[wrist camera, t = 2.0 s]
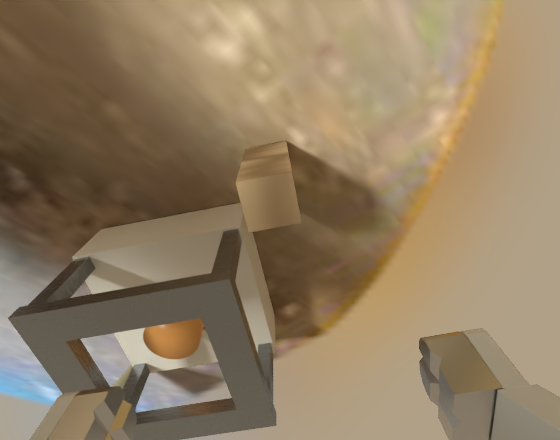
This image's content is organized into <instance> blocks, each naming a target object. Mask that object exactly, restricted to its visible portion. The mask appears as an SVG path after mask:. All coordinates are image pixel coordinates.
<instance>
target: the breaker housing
mask: <svg viewBox="0 0 560 440" xmlns="http://www.w3.org/2000/svg"><path fill="white" fill-rule="evenodd" d="M234 229H238V230H239V233H240V237H241V240H242V244H241V250H240V256H239V262H238V268H237V274H236V279H235V282H236V286H237V289H238V292H239V295H240V298H241V302H242V305H243V308H244V311H245V315H246V318H247V321H248V324H249V327H250V331H251V334H252V337H253V340H254V343H255V347H256V350H257V353H258V345H259V344H266V343H271V347H272V350H273V353H275V315H274V311H273V307H272V304H271V300H270V296H269V292H268V288H267V284H266V281H265V277H264V273H263V269H262V265H261V261H260V258H259V254H258V250H257V246H256V242H255V238H254V235H253V232H250V233H249V232H248V228H247V224H246V221H245V217H244V213H243V209H242V206H241V203H236V204H231V205H225V206H220V207H215V208H210V209H204V210H199V211H194V212H189V213H184V214H178V215H173V216H168V217H163V218H157V219H152V220H147V221H142V222H136V223H131V224H126V225H121V226H115V227H110V228H105V229H101V230H100V231H99V232H98V233H97V234H96V235H95V236H94V237H93V238H91V239H90V240H89V241H88V242H87V243H86V244H85V245H84V246H83V247H82V248H81V249H80V250H79V251H78V252H77V253H76V254H75V255H74V256H73V257H72V259H73V260H75V259H78V258H83V257H88V256H89V257H90V259H91V261H92V263H93V265H94V266H95V268H96V269H95V270H94V271H93V272H92V273H91V274H90V276H89V277H88V278H87V279H86V280H85V282H86V284H87V286H88V287H89V289H90V291H91V293H92V294H96V293H102V292H108V291H113V290H119V289H124V288H130V287H136V286H141V285H147V284H153V283H158V282H164V281H169V280H175V279H181V278H186V277H192V276H197V275H203V274H209V273H211V272H212V269H213V265H214V262H215V258H216V255H217V252H218V248H219V245H220V241H221V238H222V235H223V231H228V230H234ZM144 330H145V328H140V329H135V330H129V331H123V332H117V333H114V334H115V336H116V338H117V339H118V341H119V343H120V345H121V347H122V348H123V350H124V352H125V354H126V356H127V357H128V359H129V361H130V363H131V365H132V366H134V365H136V364H142V363H146V365H147V367H148V368H149V370H150V373H153V372H159V371H165V370H171V369H178V368H184V367H190V366H196V365H203V364H209V363H215V362H218V360H217V358H216V355H215V353H214V350H213V348H212V345H211V343H210V340H209V337H208V335H207V332H206V330H205V327H204V328H203V332H202V336H201V340H200V344H199V347H198V349H197V350H196V351H195V352H194V353H193V354H192V355H190V356H188V357H186V358H182V359H167V358H163V357H160V356H158V355H156V354H154V353H153V352H151V351H150V350H149V349H148V348H147V346H146V345H145V343H144V340H143V333H144Z"/></svg>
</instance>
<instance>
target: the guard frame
mask: <svg viewBox="0 0 560 440" xmlns="http://www.w3.org/2000/svg"><path fill="white" fill-rule="evenodd" d="M241 244H242V240H241V237H240V233H239V230H238V229H234V230H228V231H223V235H222V238H221V241H220V245H219V248H218V252H217V255H216V258H215V262H214V265H213V269H212V272H211V273H209V274H203V275H197V276H192V277H186V278H181V279H175V280H169V281H164V282H158V283H153V284H147V285H141V286H136V287H130V288H124V289H119V290H113V291H108V292H102V293H96V294H91V295H85V296H79V297H74V298H70V297H71V296H72V295H73V294H74V293H75V292H76V290H77V289H78V288H79V287H80V286H81V285H82V284H83V282H84V281H85V280H86V279H87V278H88V277H89V276H90V274H91V273H92V272H93V271H94V270H95V269H96V268H95V266H94V265H93V263H92V261H91V259H90V257H89V256H88V257H83V258H78V259H75V260H74V261H73V262H72V263H71V264H70V265H68V266H67V267H66V268H65V269H64V270H63V271H62V272H61V273H60V274H59V275H58V276H57V277H56V278H55V279H54V280H53V281H52V282H51V283H50V284H49V285H48V286H47V287H46V288H45V289H44V290H43V291H42V292H41V293H40V294H39V295H38V296H37V297H36V298H35V299H34V300H33V301H32V302H31V303H30V304H29V305H28V306H23V307H19V308H18V309H17V310H16V311H15V312H14V313H13V314H12V315H11V316H10V317H9V318H8V319H9V320H10V322H11V323H12V324H13V326H14V327H15V329H16V330H17V331H18V333H19V334H20V335H21V337H22V338H23V340H24V341H25V342H26V344H27V345H28V346H29V348H30V349H31V351H32V352H33V353H34V355H35V356H36V357H37V359H38V360H39V362H40V363H41V364H42V366H43V367H44V368H45V370H46V371H47V373H48V374H49V375H50V377H51V378H52V379H53V381H54V382H55V383H56V385H57V386H58V388H59V389H60V390H61V392H62V393H63V394H64V393H69V392H76V391H82V390H90V389H98V388H106V387H110V386H109V385H108V383H107V381H106V380H105V378H104V377H103V375H102V373H101V372H100V370H99V369H98V367H97V365H96V364H95V362H94V361H93V359H92V357H91V356H90V354H89V353H88V351H87V349H86V348H85V346H84V345H83V343H82V341H81V340H80V339H81V338H87V337H93V336H99V335H105V334H111V333H117V332H123V331H129V330H135V329H140V328H146V327H152V326H158V325H164V324H170V323H176V322H182V321H188V320H194V319H199V318H201V320H202V322H203V325H204V327H205V330H206V332H207V335H208V337H209V340H210V343H211V345H212V348H213V350H214V353H215V355H216V358H217V360H218V363H219V366H220V368H221V371H222V373H223V376H224V378H225V381H226V383H227V386H228V389H229V391H230V394H231V396H232V398H230V399H223V400H217V401H210V402H203V403H197V404H190V405H184V406H177V407H171V408H164V409H158V410H151V411H145V412H138V413H136V416H137V424H136V432H135V434H134V437H133V440H179V439H187V438H194V437H200V436H208V435H215V434H222V433H228V432H235V431H242V430H249V429H255V428H263V427H269V426H276V411H275V408H274V404H273V350H272V347H271V343H266V344H259V345H258V353H257V350H256V347H255V343H254V340H253V337H252V334H251V331H250V327H249V324H248V321H247V318H246V315H245V311H244V308H243V305H242V302H241V298H240V295H239V292H238V289H237V286H236V282H235V279H236V274H237V268H238V262H239V256H240V250H241ZM149 373H150V370H149V368H148V367H147V365H146V363H142V364H136V365H134V366H133V368H132V370H131V372H130V374H129V376H128V379H127V381H126V383H125V385H124V387H123V389H122V390H123V391H124V393H125V396H124V399H123V400H124V401H126V402H128V403H130V404H132V406H133V407H134V409H135V408H136V405H137V403H138V400H139V398H140V395H141V393H142V390H143V388H144V385H145V383H146V380H147V378H148V375H149Z"/></svg>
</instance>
